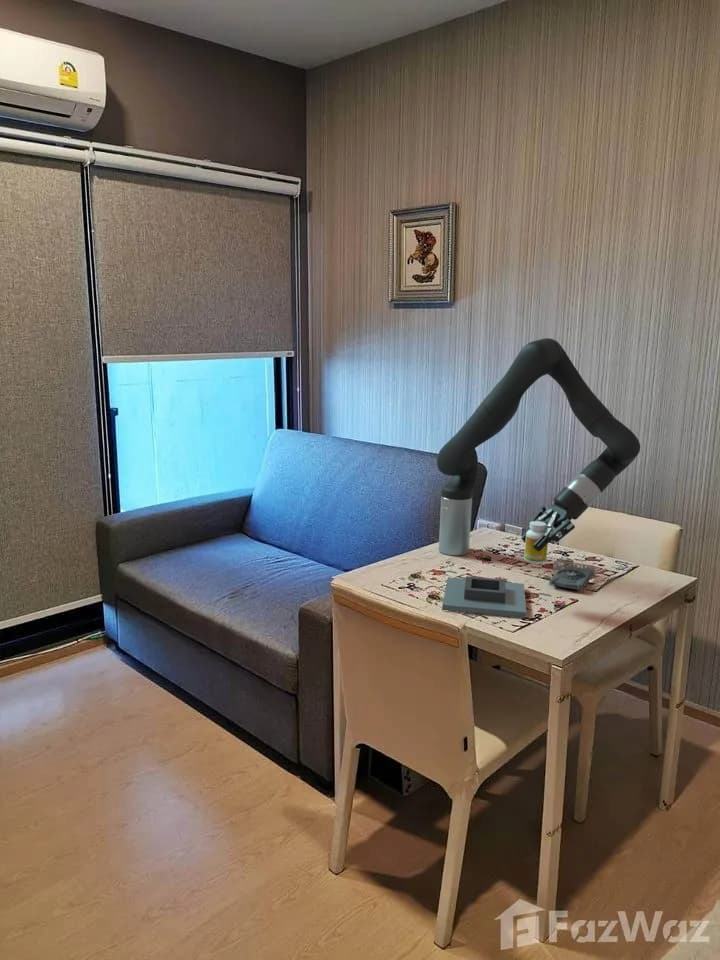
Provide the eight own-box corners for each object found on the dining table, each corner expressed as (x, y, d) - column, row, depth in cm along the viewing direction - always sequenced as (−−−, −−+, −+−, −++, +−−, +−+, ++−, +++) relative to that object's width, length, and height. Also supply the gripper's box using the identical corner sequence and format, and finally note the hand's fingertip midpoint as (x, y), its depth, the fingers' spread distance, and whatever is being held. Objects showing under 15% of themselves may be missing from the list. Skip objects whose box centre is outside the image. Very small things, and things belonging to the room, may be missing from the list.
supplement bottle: (546, 565, 182) (550, 527, 180) (524, 563, 183) (527, 525, 181) (545, 558, 188) (548, 521, 185) (523, 556, 189) (526, 519, 186)
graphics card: (554, 558, 214) (597, 565, 208) (553, 571, 214) (596, 577, 209) (538, 576, 199) (584, 583, 194) (537, 589, 200) (583, 597, 194)
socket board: (447, 582, 201) (448, 568, 200) (523, 589, 197) (524, 574, 196) (442, 610, 181) (442, 595, 181) (525, 618, 178) (527, 602, 177)
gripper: (553, 479, 190) (507, 526, 189) (584, 493, 176) (534, 544, 176) (570, 499, 192) (524, 545, 192) (601, 514, 179) (552, 564, 179)
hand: (529, 544), depth 184 cm, fingers closed on supplement bottle, 5 cm apart
